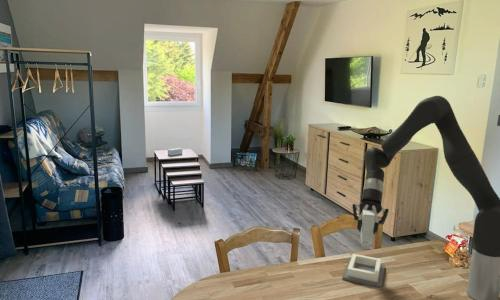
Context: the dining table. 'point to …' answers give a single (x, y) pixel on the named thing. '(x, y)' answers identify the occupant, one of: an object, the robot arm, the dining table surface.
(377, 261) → the socket plate
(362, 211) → the robot arm
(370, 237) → the skincare box
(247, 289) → the dining table surface
